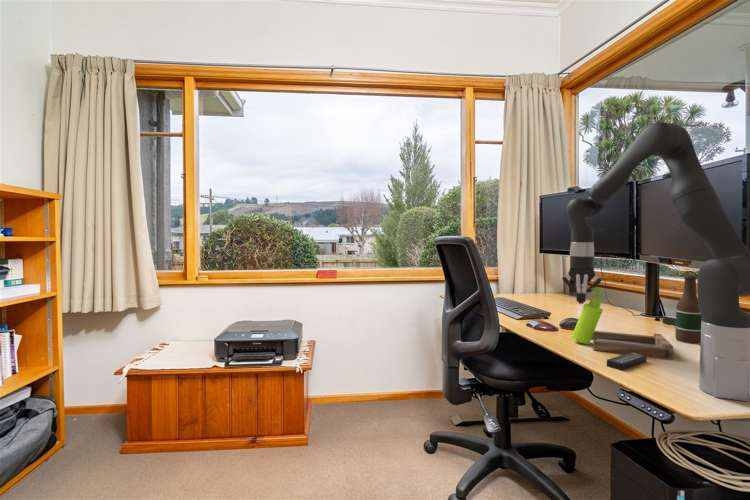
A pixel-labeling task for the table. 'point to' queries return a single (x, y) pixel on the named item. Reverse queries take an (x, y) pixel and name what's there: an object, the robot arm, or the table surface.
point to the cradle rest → (632, 344)
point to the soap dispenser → (588, 318)
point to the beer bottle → (688, 314)
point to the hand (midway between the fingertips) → (581, 303)
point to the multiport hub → (626, 361)
